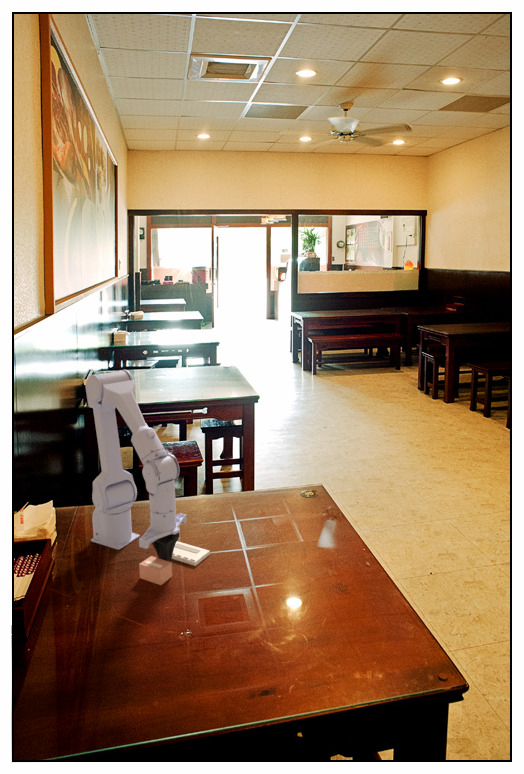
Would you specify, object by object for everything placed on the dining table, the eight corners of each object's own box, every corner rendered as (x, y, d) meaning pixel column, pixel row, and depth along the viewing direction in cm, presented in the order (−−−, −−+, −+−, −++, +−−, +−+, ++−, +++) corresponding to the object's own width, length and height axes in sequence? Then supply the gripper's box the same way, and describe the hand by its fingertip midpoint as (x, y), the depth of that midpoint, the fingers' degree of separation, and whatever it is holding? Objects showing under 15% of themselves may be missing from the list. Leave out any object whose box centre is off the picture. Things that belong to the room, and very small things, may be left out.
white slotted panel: (161, 555, 135) (161, 551, 135) (176, 544, 140) (176, 540, 140) (195, 566, 130) (195, 561, 130) (209, 554, 136) (209, 550, 135)
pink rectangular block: (140, 578, 126) (139, 563, 125) (151, 569, 129) (150, 555, 128) (161, 585, 123) (160, 570, 122) (172, 576, 126) (171, 562, 125)
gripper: (155, 525, 117) (158, 583, 120) (196, 499, 130) (198, 553, 133) (130, 518, 121) (133, 574, 124) (172, 493, 133) (174, 545, 136)
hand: (165, 563), depth 128 cm, fingers closed
